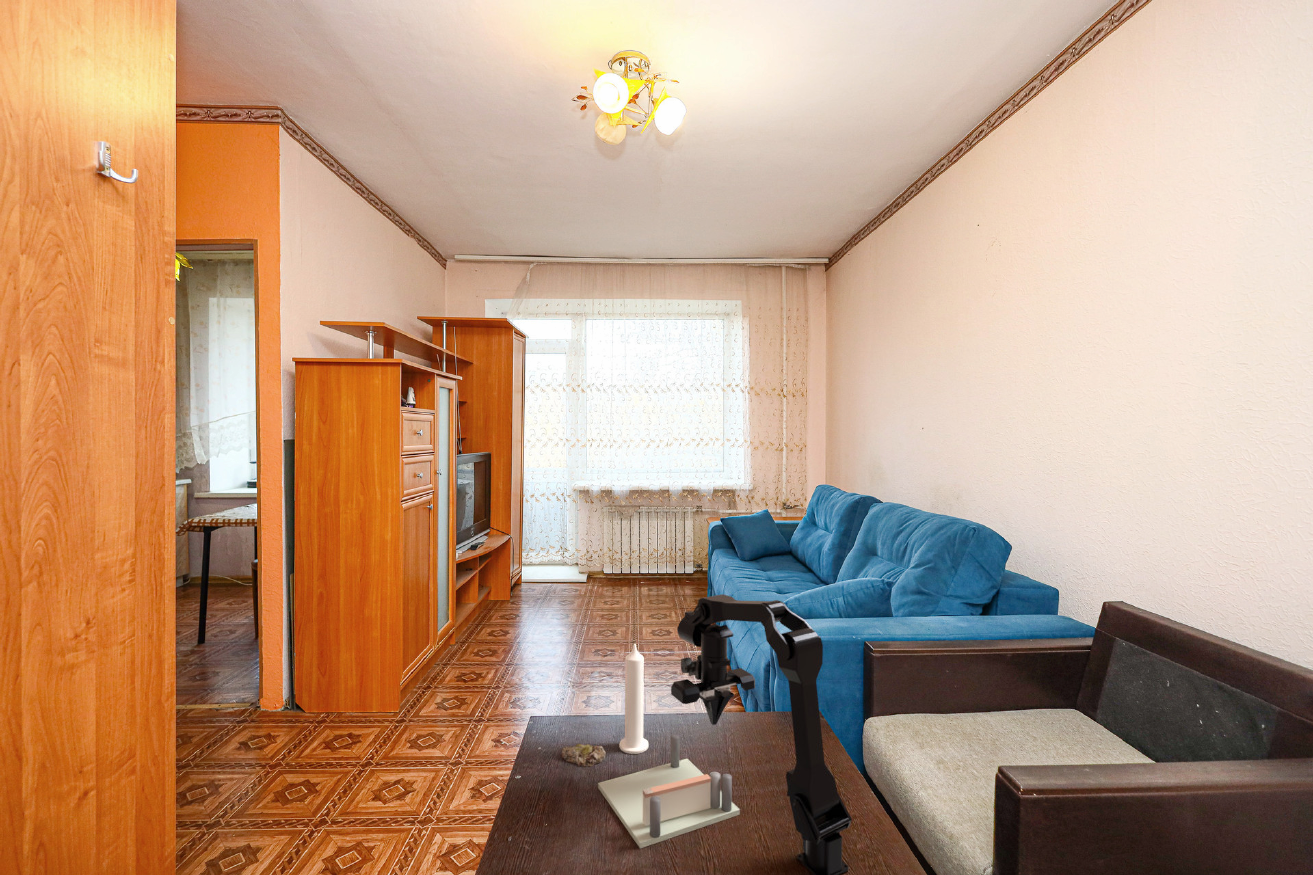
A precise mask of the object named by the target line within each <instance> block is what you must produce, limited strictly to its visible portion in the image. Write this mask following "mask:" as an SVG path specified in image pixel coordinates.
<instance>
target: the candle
mask: <svg viewBox="0 0 1313 875" xmlns="http://www.w3.org/2000/svg"><path fill="white" fill-rule="evenodd" d="M624 658H625V659H624V660H625V662H624V663H625V665H624V666H625V667H624V738H622V739H621V740H620V741H619V750H620V751H621V752H623V753H625V754H630V755H637V754H641V753H644V752H646V751H647V750H648V749H649V741H648V740H647V739H646V738H644V701H645V700H644V698H645V697H644V695H645V694H644V693H645V692H644V684H645V683H644V682H645V680H644V679H645V678H644V676H645V674H644V673H645V672H644V667H645V665H644V664H645V663H644V662H645V657H644V656H643V654H642V653H640V652H639V651H638V648H637V644H636V643H633V645H632V650H631V652H630V653H628V654H627V655H626V656H625V657H624Z"/></svg>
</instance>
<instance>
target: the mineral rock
mask: <svg viewBox="0 0 1313 875" xmlns="http://www.w3.org/2000/svg"><path fill="white" fill-rule="evenodd" d="M560 756H561V758H563V759H564V761H566V762H569V763H575V764H577V766H579V767H593V766H595V764H600V763H601V762H603V761H604V760H605V758H606V756H607V754H606V750H605V749H604V747H603V746H602V745H600V746H599V745H591V744H590V743H589V744H582V743H576V744H575V745H574V746H563V748H562V749H561V755H560Z"/></svg>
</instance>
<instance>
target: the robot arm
mask: <svg viewBox="0 0 1313 875" xmlns="http://www.w3.org/2000/svg"><path fill="white" fill-rule="evenodd" d="M726 621H735V622H736V621H737V622H750V623H760V624H761V625H762V626H763V627H764V634H765V639H766V642H767V643H768V645H769V646H770V647H771V649H772V650H773V651H774V652H775V654H776V655H775V656H776V658H777V664H778V667H779V670H780V671H781V672H782V673H783V675H784V676H785V677H786V679H787V682H788V688H789V689H788V690H789V691H788V692H789V701H790V710H791V719H792V720H791V721H792V732H793V739H794V748H795V749H794V751H795V760H796V762H795V763H796V764H795V766H794V768H792V769H790V770H787V771H786V773H785V779H786V781H785V782H786V786H787V791H786V796H787V797H789V803H790V807H791V812H792V816H793V821H794V825H795V830H796V832H798V833H800V835H801V839H802V851H803V852H801V853H799V854H797V855H796V859H797V861H799V862H800V863H801V865H803V866H804V867H805V868H806V869H807V870H808V871H809V872H810V874H812V875H840V874H842V873H847V871H849V869H850V867H849V865H848V864H847V863H845V861H843V836H842V835H841V834H840V832H842V831H844V830H847V829H849V828H850V826H851V824H852V817H851V815H850V813H849V811H848V810H847V808H846V805H845V803H844V802H843V799H842V798H841V796H840V794H839V792H838V787H837V783H836V779H835V776H834V774H833V773H832V771H831V770H830V769H829V767H828V766H827V765H826V761H825V754H824V753H825V752H824V743H823V737H822V736H823V735H822V726H821V725H822V724H821V716H820V715H821V713H820V707H819V705H820V704H819V697H818V696H819V695H818V687H817V678H818V676H819V675H820V674H819V673H820V672H821V671H820V670H821V669H822V665H823V661H824V660H823V657H824V656H823V655H824V652H823V651H824V646H823V645H824V644H823V640H822V638H821V636H820V635H818V634H817V632H816V631H815V630H814V629H813V627H812V626H811V625H810V624H809V623H808V622H807V620H806V619H804V618H802V617H801V616H799V615H798V614H796V613H795V612H793V611H791V610H790V609H789V608H788V606H787V605H786V604H785V602H784V601H781V600H779V599H776V600H771V601H770V600H737V599H735V598H734V597H733V596H732V595H731V596H730V595H727V594H717V595H712V596H704V597H700V598H699V599H698V601H697V604H696V606H695V608H694V610H693V611H692V610H690V611H685V612H684V617H683V618H682V619H681V620H680V621H679V623H678V626H677V628H676V630H677V635H678V636H679V638H680V639H681V640H683V641H686V642H687V643H689V644H691V645H693V646H695V647H697V648H700V654H698V655H697V658H696V659H694V660H693V659H692V658H691V657H684V658H681V659H680V670H681V673H682V674H688V676H689V677H691V676H694V677H695V680H697V681H699V680H700V682H698V683H697V682H696V683H693V682H692V681H691V680H689V679H688V678H687V679H682V680H678V681H677V680H676V681H673V683H672V684H671V687H670V695H671V696H673V698H675V699H676V700H677V701H679V702H680V703H681V705H682V704H683V705H689V704H693V703H697V702H698V700H699V699H700V700H702V703H703V704H704V707H705V710H706V714H707V715H708V718H709V722H710V724H711V725H712V726H715V725H717V723H718V722H719V719H720V717H721V716H722V714H723V712H724V710H725V708H726V707H727V705H728V703H729V702H730V700H731V698H733V697H734V696H735V693H734V692H732V691H731V687H733V686H737V685H740V688H741V689H742V690H743V691H745V692H746V691H750V690H755V688H756V678H755V676H754V675H753V674H752V673H750V672H748V671H746V669H743V668H742V667H741V668H740V667H739V668H736V669H730V670H728V666H731V660H730V659H729V658H728V639H729V638H732V637H734V633H733V631H732V630H731V629H730V628H729V626H728V625H727V624H723V625H719V624H718V623H722V622H726ZM777 622H779V623H780V624H781V625H782V626H783V627H785V628H787V629H788V630H790V631H786V632H782V633H781V632H780V631H779V629H778V628H777V624H776V623H777Z"/></svg>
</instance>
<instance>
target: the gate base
mask: <svg viewBox="0 0 1313 875" xmlns="http://www.w3.org/2000/svg"><path fill="white" fill-rule="evenodd" d="M680 740H681V739H680V735H678V734H672V735H671V736H670V763H669V762H668V763H666V764H665V763H664V764H661V765H658V766H654V767H652V768H651V767H650V768H648V769H643V770H641V771H637V772H633V773H630V774H626V775H622V776H619V777H615V778H611V779H609V780H605V781H604V780H603V781H601V782H598V783H597V788H598V791H600V793H601V794H602V796H603V797H604V798H605V800H606V801H607V803H608V805H610V807H611V808H612V811H613V812H614V813H615V814H616V816H617V817H618V818H619V819H618V820H619V821H620V822H621V823H622V824H623V826H624V827H625V829H626V831H628V832H627V833H629V835H630V836H631V838H632V839H633V840H634V842H635V843H636V845H637V847H638V848H639V849H643V848H645V847H648V846H653V845H654V844H657V843H660V842H663V841H666V840H670V839H672V838H675V837H678V836H680V835H683V834H687V833H689V832H693V831H696V830H698V829H701V828H704V827H708V826H710V825H713V824H714V825H715V824H716V823H719V822H721V821H725V820H728V819H730V818H733V817H736V816H739V815H741V809H740V808H739V807H738V806H737V805H736V804H735V803H734V802H733V801H732V800H733V799H732V797H733V796H732V795H733V794H732V792H733V791H732V790H733V789H732V788H733V782H732V781H733V776H732V775H731V774H729V773H723V774H722V775H721V790H720V807H718V808H712V807H710V808H708V809H705V810H701V811H697V812H693V813H690V814H686V815H682V816H679V817H675V818H671V819H667V820H664V821H661V799H660V798H659V797H657V796H653V797H651V798H650V825H648V826H645V824H644V823H643V821H642V819H643V790H644V789H648V788H652V787H656V786H660V785H664V784H669V783H673V782H677V781H681V780H685V779H689V778H693V777H697V776H701V775H705V774H704V773H703V772H702V771H701V770H700V769H699V768H698V767H697V766H695V764H694V763H692V762H691V761H690V759H688V758H685V759H681V760H680V749H681V748H680V746H681V745H680V744H681V743H680Z"/></svg>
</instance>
